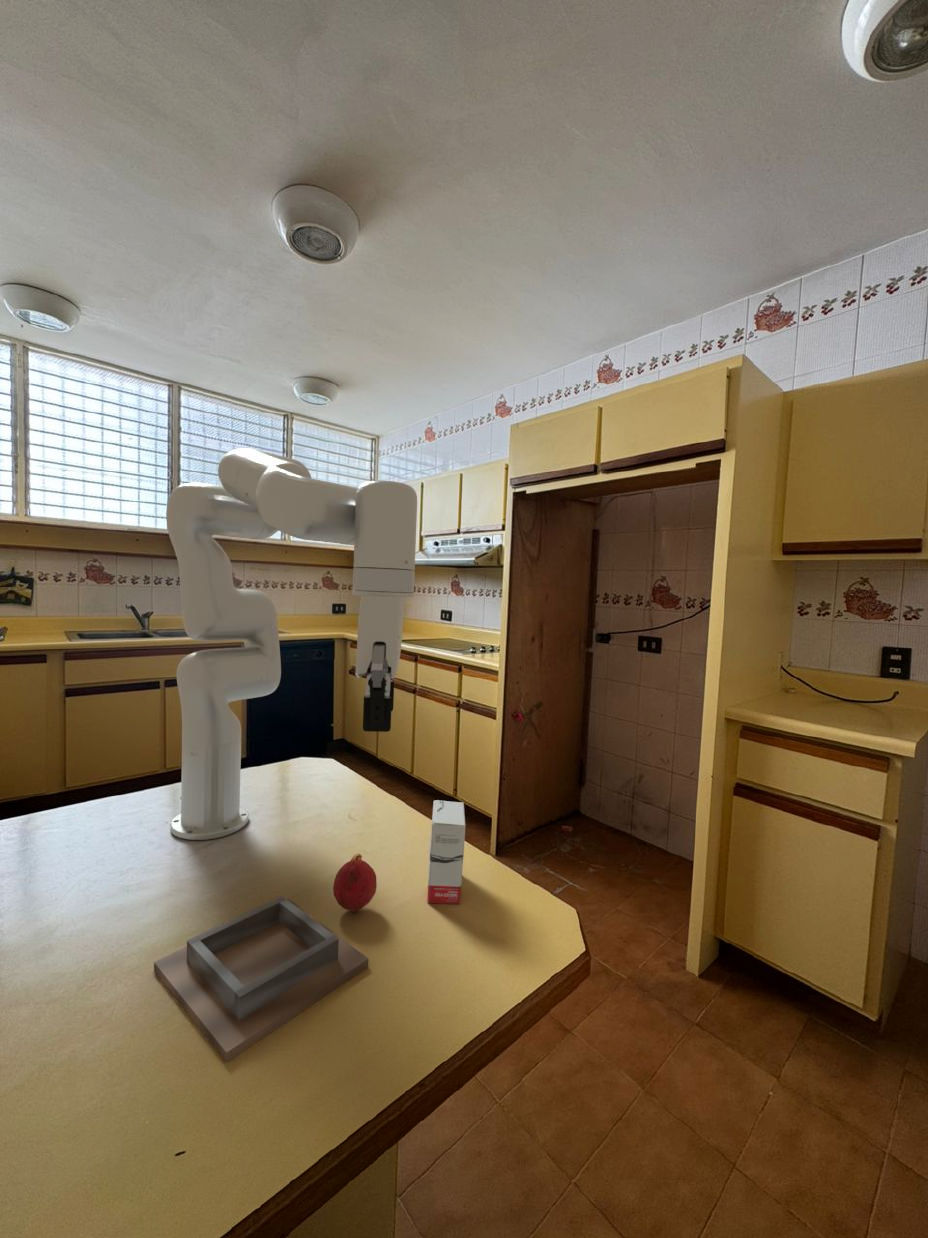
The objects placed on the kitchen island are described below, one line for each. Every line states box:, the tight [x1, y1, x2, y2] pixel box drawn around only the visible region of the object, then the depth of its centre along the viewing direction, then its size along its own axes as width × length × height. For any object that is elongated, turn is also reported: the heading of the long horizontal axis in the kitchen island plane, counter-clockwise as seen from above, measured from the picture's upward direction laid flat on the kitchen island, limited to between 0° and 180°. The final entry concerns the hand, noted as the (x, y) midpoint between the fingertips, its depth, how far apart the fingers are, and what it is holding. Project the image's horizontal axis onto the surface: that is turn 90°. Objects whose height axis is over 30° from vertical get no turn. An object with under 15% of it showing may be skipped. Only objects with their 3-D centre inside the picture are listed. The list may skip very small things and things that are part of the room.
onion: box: [332, 852, 377, 913], centre depth 72 cm, size 6×6×8 cm
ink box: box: [426, 799, 466, 905], centre depth 79 cm, size 8×5×12 cm, turn 2°
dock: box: [153, 895, 369, 1063], centre depth 61 cm, size 17×17×4 cm
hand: (379, 720), depth 67 cm, fingers open, 9 cm apart
